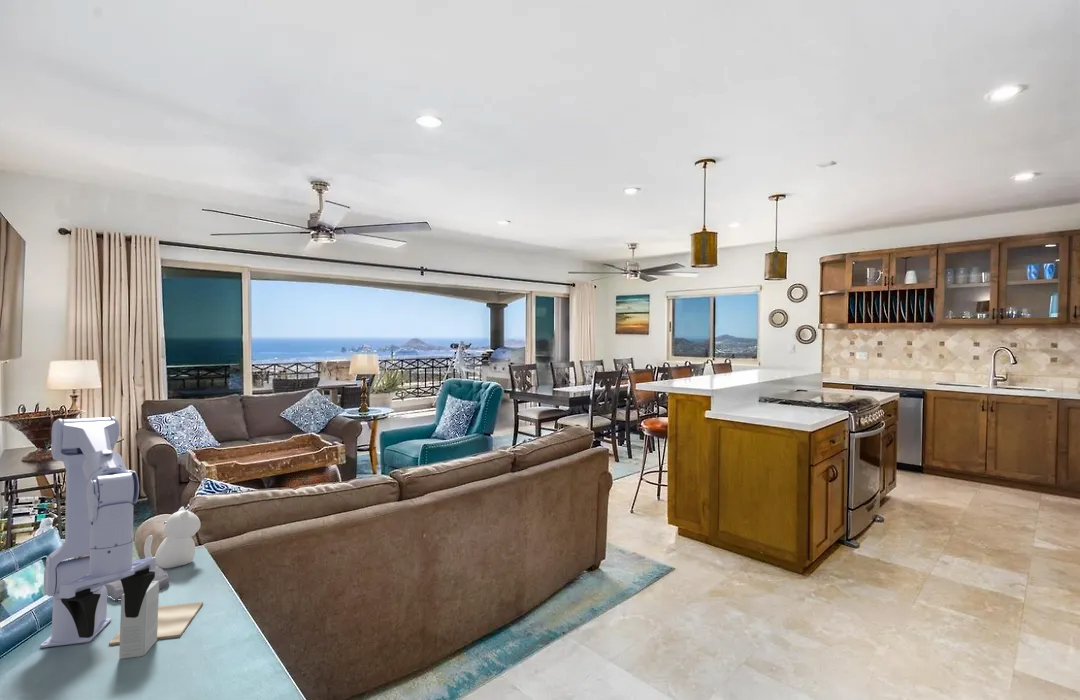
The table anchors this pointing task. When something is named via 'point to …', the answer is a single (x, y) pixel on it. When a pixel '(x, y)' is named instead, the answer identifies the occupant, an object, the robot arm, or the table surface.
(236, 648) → the table surface
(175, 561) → the cat figurine
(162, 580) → the stone block
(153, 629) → the skincare box
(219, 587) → the table surface
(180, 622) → the birch board
